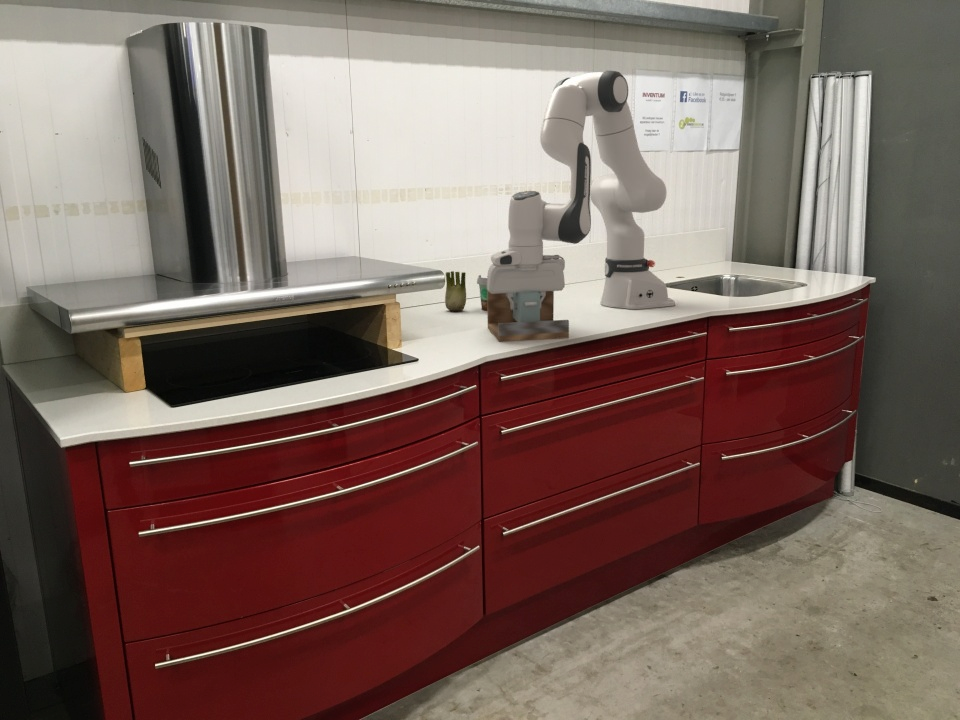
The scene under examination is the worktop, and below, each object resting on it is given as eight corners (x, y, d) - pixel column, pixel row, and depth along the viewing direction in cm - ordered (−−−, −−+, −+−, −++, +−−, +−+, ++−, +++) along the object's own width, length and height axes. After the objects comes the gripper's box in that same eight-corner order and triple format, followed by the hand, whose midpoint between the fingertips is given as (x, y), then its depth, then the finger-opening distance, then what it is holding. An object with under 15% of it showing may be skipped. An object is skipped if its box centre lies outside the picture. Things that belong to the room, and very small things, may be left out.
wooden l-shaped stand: (552, 324, 216) (552, 281, 213) (568, 337, 201) (569, 291, 198) (487, 328, 213) (487, 284, 210) (499, 341, 198) (498, 294, 195)
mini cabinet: (530, 316, 213) (530, 286, 211) (540, 325, 202) (541, 294, 200) (512, 317, 212) (512, 287, 210) (521, 325, 202) (521, 294, 200)
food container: (469, 310, 237) (469, 277, 235) (479, 307, 243) (479, 274, 240) (506, 314, 232) (506, 280, 229) (515, 310, 237) (515, 277, 235)
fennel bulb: (468, 310, 238) (467, 270, 235) (459, 313, 234) (458, 272, 231) (451, 308, 241) (450, 269, 238) (442, 311, 237) (441, 271, 234)
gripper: (561, 253, 208) (561, 304, 212) (485, 256, 205) (485, 308, 209) (568, 256, 202) (567, 309, 206) (489, 259, 199) (490, 313, 203)
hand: (525, 308), depth 207 cm, fingers closed on mini cabinet, 5 cm apart
